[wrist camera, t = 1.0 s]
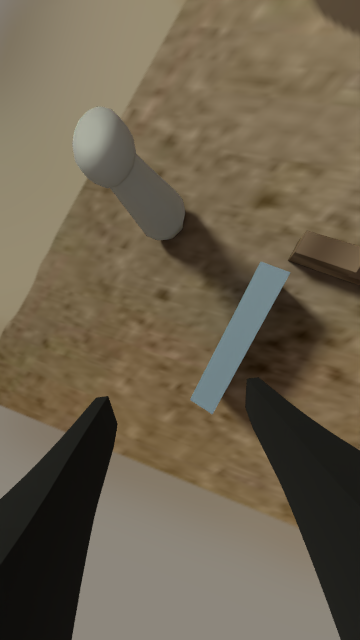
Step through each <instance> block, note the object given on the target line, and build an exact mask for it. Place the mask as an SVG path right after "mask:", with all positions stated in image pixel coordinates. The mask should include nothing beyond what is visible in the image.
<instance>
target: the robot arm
mask: <svg viewBox="0 0 360 640" xmlns="http://www.w3.org/2000/svg"><path fill="white" fill-rule="evenodd" d="M245 408H246V411H247V414H248V416H249V419H250V422H251V424H252V427H253V429H254V431H255V433H256V435H257V437H258V439H259V441H260V443H261V445H262V447H263V449H264V451H265V453H266V455H267V457H268V459H269V461H270V463H271V465H272V467H273V469H274V471H275V473H276V475H277V477H278V479H279V482H280V484H281V486H282V488H283V490H284V493H285V495H286V497H287V500H288V502H289V505H290V507H291V510H292V512H293V514H294V517H295V519H296V522H297V524H298V527H299V529H300V532H301V534H302V537H303V540H304V542H305V545H306V547H307V550H308V552H309V555H310V557H311V560H312V562H313V565H314V568H315V571H316V573H317V576H318V578H319V581H320V584H321V587H322V589H323V592H324V594H325V597H326V600H327V602H328V605H329V608H330V611H331V614H332V616H333V619H334V622H335V625H336V628H337V630H338V633H339V636H340V639H341V640H360V450H358V449H356V448H355V447H353V446H352V445H350V444H348V443H347V442H345V441H344V440H342V439H340V438H339V437H337V436H336V435H334V434H333V433H331V432H330V431H328V430H327V429H325V428H324V427H322V426H321V425H320V424H318V423H317V422H315V421H314V420H312V419H311V418H310V417H308V416H307V415H305V414H304V413H303V412H301V411H300V410H299V409H297V408H296V407H295V406H294V405H292V404H291V403H290V402H288V401H287V400H286V399H285V398H283V397H282V396H281V395H280V394H278V393H277V392H276V391H275V390H273V389H272V388H271V387H270V386H269V385H267V384H266V383H265V382H264V381H262V380H261V379H260V378H259V377H257V378H249V379H247V386H246V404H245ZM116 431H117V421H116V418H115V415H114V412H113V409H112V406H111V403H110V400H109V397H108V396H106V397H98V398H96V399H95V400H94V401H93V402H92V403H91V404H90V405H89V407H88V408H87V409H86V410H85V411H84V412H83V414H82V415H81V416H80V417H79V418H78V419H77V421H76V422H75V423H74V424H73V425H72V426H71V428H70V429H69V430H68V431H67V432H66V433H65V434H64V435H63V437H62V438H61V439H60V440H59V441H58V442H57V443H56V444H55V445H54V446H53V447H52V449H51V450H50V451H49V452H48V453H47V454H46V455H45V456H44V457H43V458H42V459H41V460H40V461H39V462H38V463H37V464H36V465H35V467H33V468H32V469H31V470H30V471H29V472H28V473H27V475H26V476H25V477H23V478H22V479H21V480H20V481H19V482H18V483H17V484H16V485H15V486H14V487H13V488H12V489H11V490H10V491H9V492H8V493H7V494H5V495H4V496H3V497H2V498H1V499H0V640H72V633H73V628H74V622H75V616H76V610H77V605H78V599H79V593H80V587H81V582H82V576H83V571H84V566H85V561H86V555H87V550H88V545H89V540H90V535H91V531H92V525H93V520H94V516H95V512H96V508H97V504H98V500H99V497H100V494H101V490H102V486H103V483H104V480H105V476H106V472H107V469H108V465H109V462H110V458H111V455H112V451H113V447H114V442H115V437H116Z"/></svg>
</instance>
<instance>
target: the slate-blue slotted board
mask: <svg viewBox="0 0 360 640" xmlns="http://www.w3.org/2000/svg"><path fill="white" fill-rule="evenodd" d="M289 274H290V272H288V271H285V270H282V269H280V268H277V267H274V266H271V265H269V264H266V263H263V262H260V264H259V266H258V268H257V270H256V272H255V274H254V276H253V278H252V280H251V282H250V283H249V285H248V287H247V289H246V291H245V293H244V295H243V297H242V299H241V301H240V303H239V305H238V307H237V309H236V311H235V313H234V315H233V317H232V319H231V321H230V323H229V325H228V326H227V328H226V330H225V332H224V334H223V336H222V338H221V340H220V342H219V344H218V346H217V348H216V350H215V352H214V354H213V356H212V358H211V360H210V362H209V364H208V366H207V368H206V369H205V371H204V373H203V375H202V377H201V379H200V381H199V383H198V385H197V387H196V389H195V391H194V393H193V395H192V397H191V399H190V400H191V401H193V402H194V403H196V404H198V405H199V406H201V407H202V408H204V409H205V410H207V411H208V412H210V413H211V414H213V412H214V410H215V409H216V407H217V405H218V403H219V401H220V399H221V398H222V396H223V394H224V392H225V390H226V389H227V387H228V385H229V383H230V381H231V379H232V378H233V376H234V374H235V372H236V370H237V369H238V367H239V365H240V363H241V361H242V359H243V358H244V356H245V354H246V352H247V350H248V349H249V347H250V345H251V343H252V341H253V339H254V338H255V336H256V334H257V332H258V330H259V329H260V327H261V325H262V323H263V321H264V319H265V318H266V316H267V314H268V312H269V310H270V309H271V307H272V305H273V303H274V301H275V299H276V298H277V296H278V294H279V292H280V290H281V289H282V287H283V285H284V283H285V281H286V280H287V278H288V276H289Z"/></svg>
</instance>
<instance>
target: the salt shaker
mask: <svg viewBox="0 0 360 640" xmlns="http://www.w3.org/2000/svg"><path fill="white" fill-rule="evenodd" d="M72 144H73V151H74V156H75V162H76V163H77V165H78V166H79V168H80V169H81V171H82V172H83V173H84V174H85V175H86V177H87V178H88V179H89V180H91V181H92V182H94V183H95V184H97V185H100V186H103V187H105V188H111V190H112V191H113V192H114V194H115V195H116V196H117V198H118V199H119V200H120V202H121V203H122V204H123V205H124V207H125V208H126V209H127V211H128V212H129V213H130V215H131V216H132V217H133V219H134V220H135V221H136V223H137V224H138V225H139V226H140V228H141V229H142V230H143V232H144V233H145V234H146V236H148V237H151V238H153V239H155V240H168V239H173V238H174V237H175V236H176V235H177V234H178V233H179V232H180V231H181V230H182V229H183V221H184V217H185V208H184V203H183V199H182V198H181V197H180V196H179V194H178V193H177V192H176V191H175V190H174V189H173V188H172V187H171V186H170V185H169V184H168V183H167V182H166V181H164V180H163V179H162V178H161V177H160V176H159V175H158V174H157V173H156V172H155V171H154V170H152V169H151V168H150V167H149V166H148V165H147V164H146V163H145V162H144V161H143V160H142V159H141V158H140V157H139V156H138V155H137V154H136V150H135V144H134V139H133V136H132V134H131V132H130V131H129V129H128V127H127V126H126V125H125V123H124V122H123V121H122V120H121V118H120V117H119V116H118V115H117V114H116V113H115V112H114V111H113V110H112V109H109V108H105V107H95V108H93V109H90V110H88V111H87V112H86V113H85V114H84V115H83V116H82V117H81V118H80V120H79V122H78V124H77V126H76V129H75V131H74V137H73V143H72Z"/></svg>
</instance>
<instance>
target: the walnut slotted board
mask: <svg viewBox="0 0 360 640" xmlns="http://www.w3.org/2000/svg"><path fill="white" fill-rule="evenodd" d="M288 261H291V262H294V263H297V264H300V265H303V266H305V267H308V268H311V269H314V270H317V271H320V272H323V273H325V274H328V275H331V276H334V277H337V278H340V279H343V280H345V281H348V282H351V283H354V284H357V285H360V246H357V245H354V244H350V243H347V242H344V241H340V240H337V239H334V238H330V237H327V236H323V235H320V234H317V233H313V232H310V231H306V232H305V234H304V235H303V236H302V237H301V239H300V240H299V241H298V243H297V245H296V247H295V249H294V250H293V252H292V254H291V256H290V258H289V260H288Z"/></svg>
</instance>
